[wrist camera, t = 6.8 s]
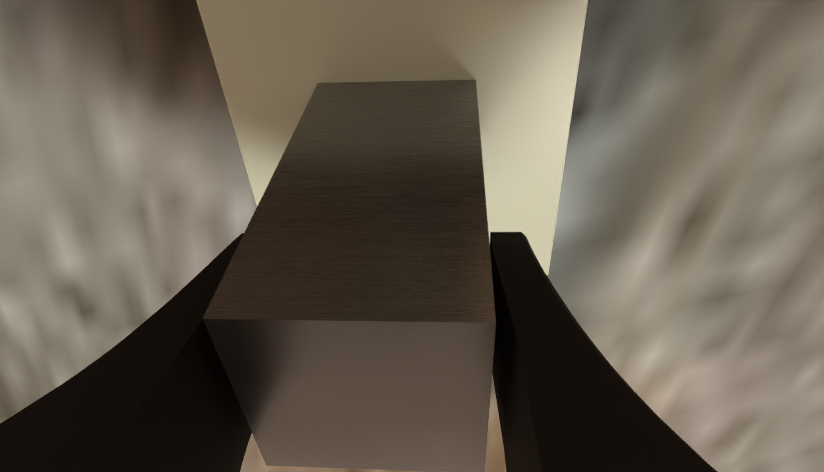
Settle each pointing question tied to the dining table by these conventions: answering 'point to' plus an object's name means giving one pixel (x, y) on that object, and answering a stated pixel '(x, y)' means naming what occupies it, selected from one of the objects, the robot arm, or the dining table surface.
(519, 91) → the pad
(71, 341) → the dining table surface
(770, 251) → the dining table surface
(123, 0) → the dining table surface
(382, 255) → the square peg
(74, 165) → the dining table surface
